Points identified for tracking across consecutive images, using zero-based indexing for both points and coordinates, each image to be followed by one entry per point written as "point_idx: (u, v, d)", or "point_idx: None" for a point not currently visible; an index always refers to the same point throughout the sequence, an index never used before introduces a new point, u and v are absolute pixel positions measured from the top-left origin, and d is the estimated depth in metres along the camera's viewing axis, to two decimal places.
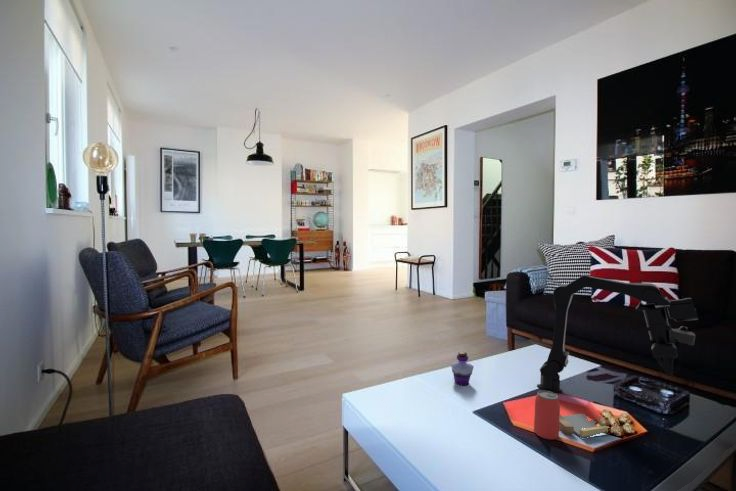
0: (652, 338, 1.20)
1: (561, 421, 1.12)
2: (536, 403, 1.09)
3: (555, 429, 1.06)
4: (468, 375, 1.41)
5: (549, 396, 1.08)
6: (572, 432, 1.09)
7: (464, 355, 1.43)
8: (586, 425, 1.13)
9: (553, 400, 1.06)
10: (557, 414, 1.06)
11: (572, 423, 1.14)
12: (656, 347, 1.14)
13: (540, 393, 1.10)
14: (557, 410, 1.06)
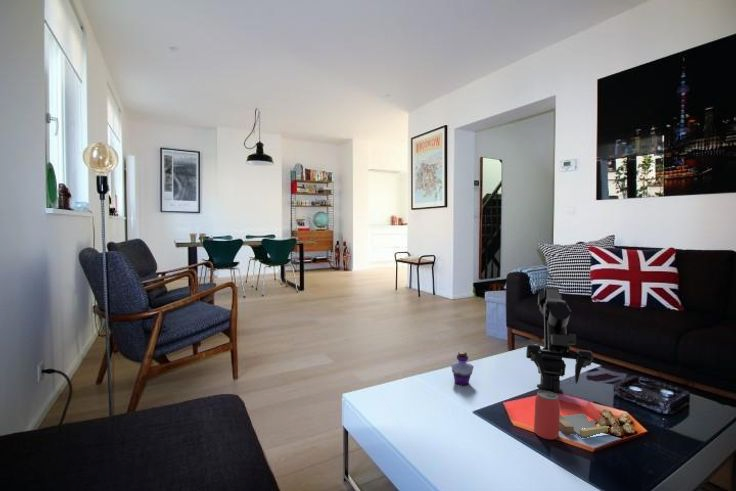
0: None
1: (561, 421, 1.12)
2: (536, 403, 1.09)
3: (555, 429, 1.06)
4: (468, 375, 1.41)
5: (549, 396, 1.08)
6: (572, 432, 1.09)
7: (464, 355, 1.43)
8: (586, 425, 1.13)
9: (553, 400, 1.06)
10: (557, 414, 1.06)
11: (572, 423, 1.14)
12: None
13: (540, 393, 1.10)
14: (557, 410, 1.06)
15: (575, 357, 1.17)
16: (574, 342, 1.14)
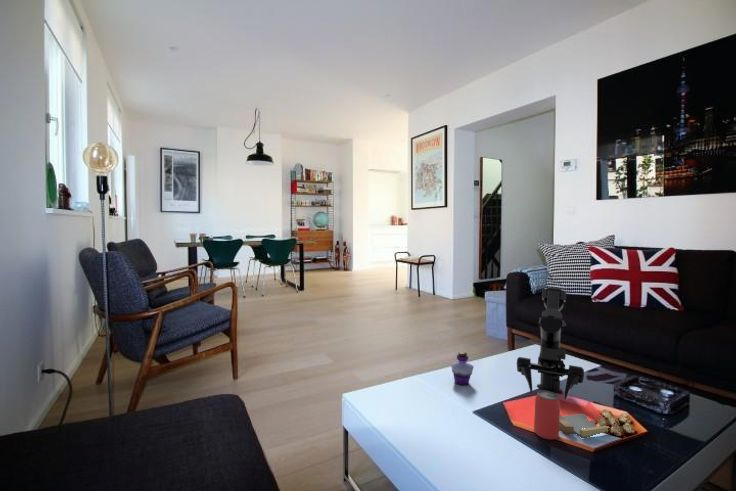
0: None
1: (561, 421, 1.12)
2: (536, 403, 1.09)
3: (555, 429, 1.06)
4: (468, 375, 1.41)
5: (549, 396, 1.08)
6: (572, 432, 1.09)
7: (464, 355, 1.43)
8: (586, 425, 1.13)
9: (553, 400, 1.06)
10: (557, 414, 1.06)
11: (572, 423, 1.14)
12: None
13: (540, 393, 1.10)
14: (557, 410, 1.06)
15: (566, 373, 1.14)
16: (563, 357, 1.11)
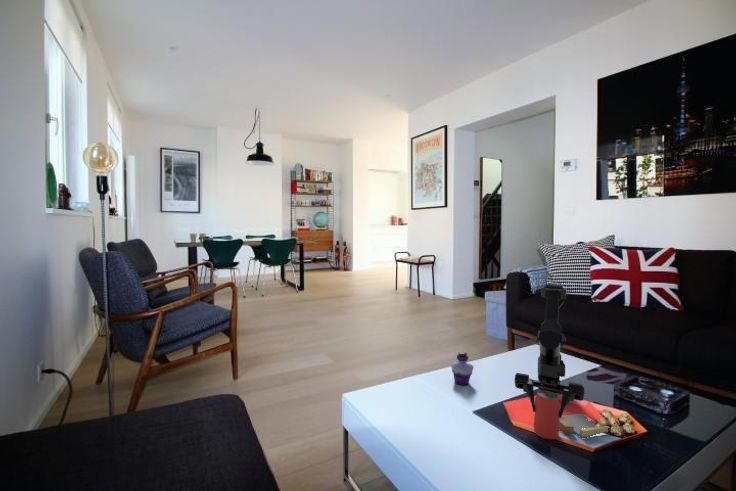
0: None
1: (561, 421, 1.12)
2: (536, 403, 1.09)
3: (555, 429, 1.06)
4: (468, 375, 1.41)
5: (549, 396, 1.08)
6: (572, 432, 1.09)
7: (464, 355, 1.43)
8: (586, 425, 1.13)
9: (553, 400, 1.06)
10: (557, 414, 1.06)
11: (572, 423, 1.14)
12: None
13: (540, 393, 1.10)
14: (557, 410, 1.06)
15: (561, 389, 1.11)
16: (563, 374, 1.07)
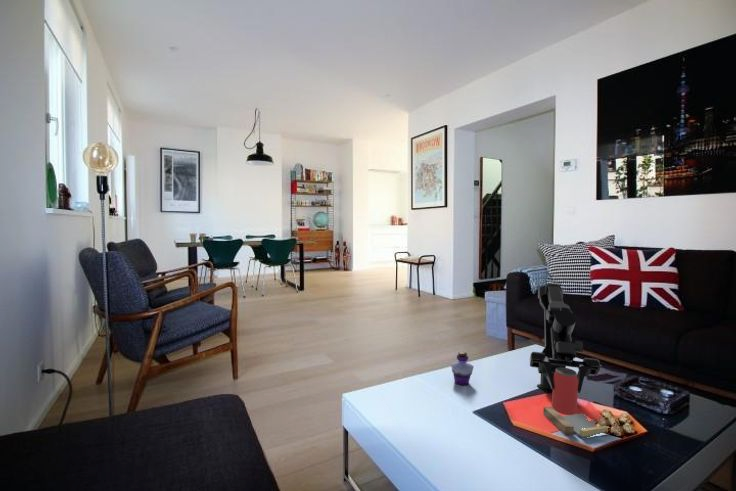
0: None
1: (561, 421, 1.12)
2: (555, 380, 1.09)
3: (575, 404, 1.07)
4: (468, 375, 1.41)
5: (567, 372, 1.09)
6: (572, 432, 1.09)
7: (464, 355, 1.43)
8: (586, 425, 1.13)
9: (573, 376, 1.07)
10: (576, 390, 1.07)
11: (572, 423, 1.14)
12: None
13: (558, 370, 1.11)
14: (576, 386, 1.07)
15: (577, 365, 1.12)
16: (581, 350, 1.09)
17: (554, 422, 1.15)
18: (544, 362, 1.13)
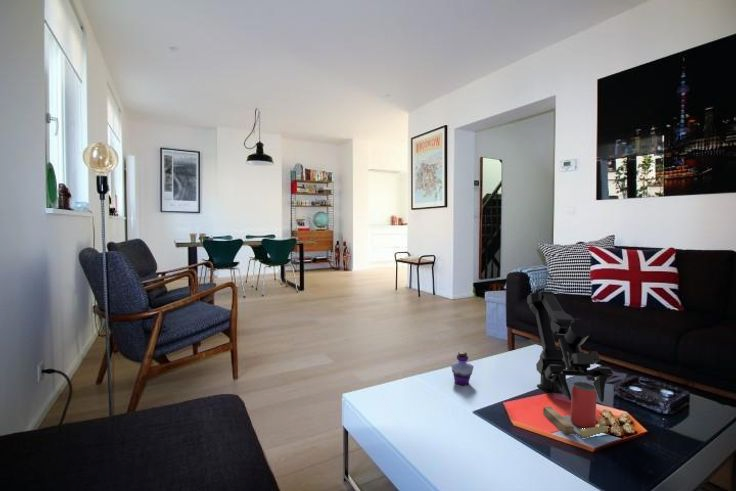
0: None
1: (561, 421, 1.12)
2: (576, 395, 1.12)
3: (595, 417, 1.11)
4: (468, 375, 1.41)
5: (586, 387, 1.13)
6: (572, 432, 1.09)
7: (464, 355, 1.43)
8: None
9: (593, 390, 1.11)
10: None
11: (572, 423, 1.14)
12: None
13: (576, 385, 1.14)
14: None
15: (595, 375, 1.16)
16: (598, 360, 1.13)
17: (554, 422, 1.15)
18: (559, 374, 1.15)
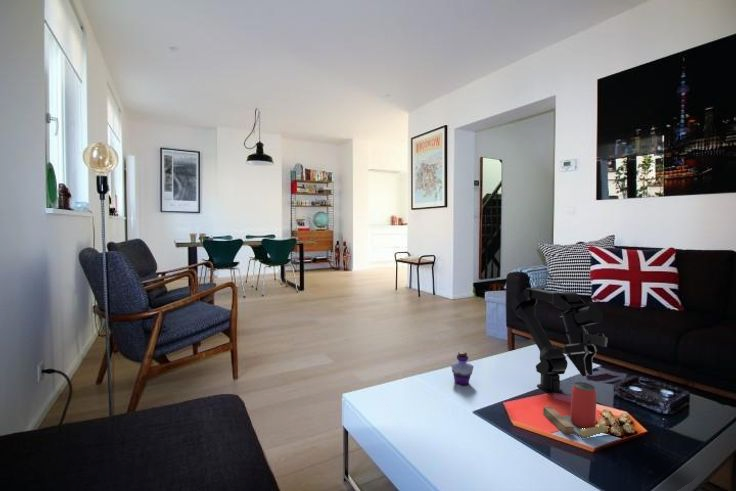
0: (570, 342, 1.27)
1: (561, 421, 1.12)
2: (576, 395, 1.12)
3: (595, 417, 1.11)
4: (468, 375, 1.41)
5: (586, 387, 1.13)
6: (572, 432, 1.09)
7: (464, 355, 1.43)
8: None
9: (593, 390, 1.11)
10: None
11: (572, 423, 1.14)
12: (567, 345, 1.21)
13: (576, 385, 1.14)
14: None
15: None
16: None
17: (554, 422, 1.15)
18: (586, 353, 1.19)
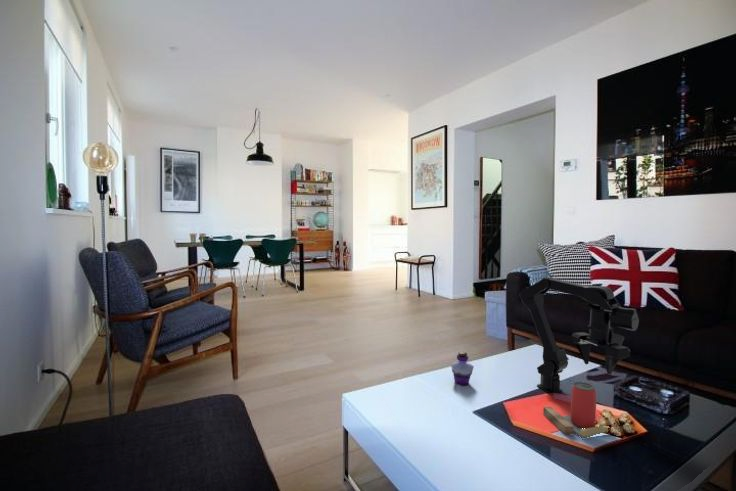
0: (598, 339, 1.24)
1: (561, 421, 1.12)
2: (576, 396, 1.12)
3: (594, 417, 1.11)
4: (468, 375, 1.41)
5: (586, 387, 1.13)
6: (572, 432, 1.09)
7: (464, 355, 1.43)
8: None
9: (593, 390, 1.11)
10: (595, 403, 1.11)
11: (572, 423, 1.14)
12: (618, 349, 1.17)
13: (576, 385, 1.14)
14: None
15: None
16: None
17: (554, 422, 1.15)
18: None
